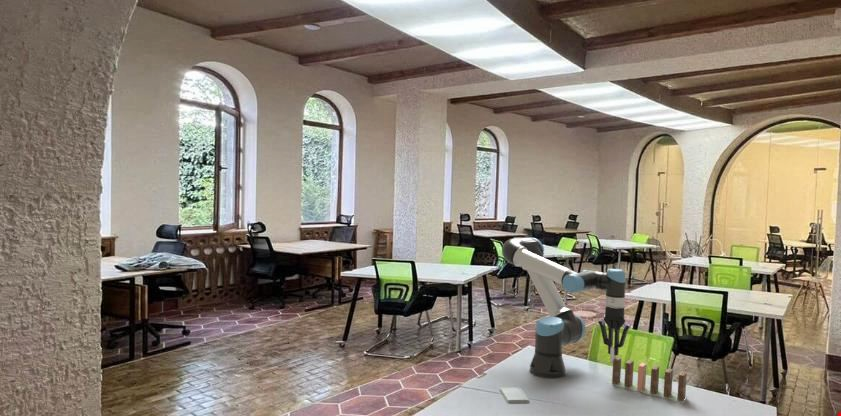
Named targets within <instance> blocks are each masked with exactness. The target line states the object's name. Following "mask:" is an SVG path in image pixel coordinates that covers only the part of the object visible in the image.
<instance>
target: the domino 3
mask: <svg viewBox="0 0 841 416" xmlns="http://www.w3.org/2000/svg"><path fill="white" fill-rule="evenodd" d="M637 366H638V367H637V369H638V370H637V383H636V384H637V390H639V391H642V390H643V389H644V388H645V386H646V384H647V383H646V379H647V378H646V377H647V363H645V362H641V363H640V364H639V365H637ZM639 391H638V392H639Z"/></svg>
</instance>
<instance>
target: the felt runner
mask: <svg viewBox="0 0 841 416" xmlns="http://www.w3.org/2000/svg"><path fill="white" fill-rule="evenodd" d="M624 383H625V380H623V379H620V382H619V383H618V384H617V385H616V384H612V379H610V380H609V381H608V382H607V384H608V385H613V386H617V387H620V388H624V389H628V390H631V391H635V392H640V393H643V394H648V395H651V396H655V397H659V398H662V399H667V400H671V401H675V402H679V403H683V404H684V403H685V402H686V400H683V401H678V400H677V397H678V393H675V392H672V394H671V395H670V397H669V398H667V397H664V389H659V388H658V392H657V393H656V394H651V393H650V386H647V385H645V388H644V389H643V390H642V391H639V390H637V383H635V382H633V384H632V385H631V386H630V387H629V388H627V387H624ZM685 397H687V395H685ZM687 398H688V397H687ZM684 401H685V402H684Z"/></svg>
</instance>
